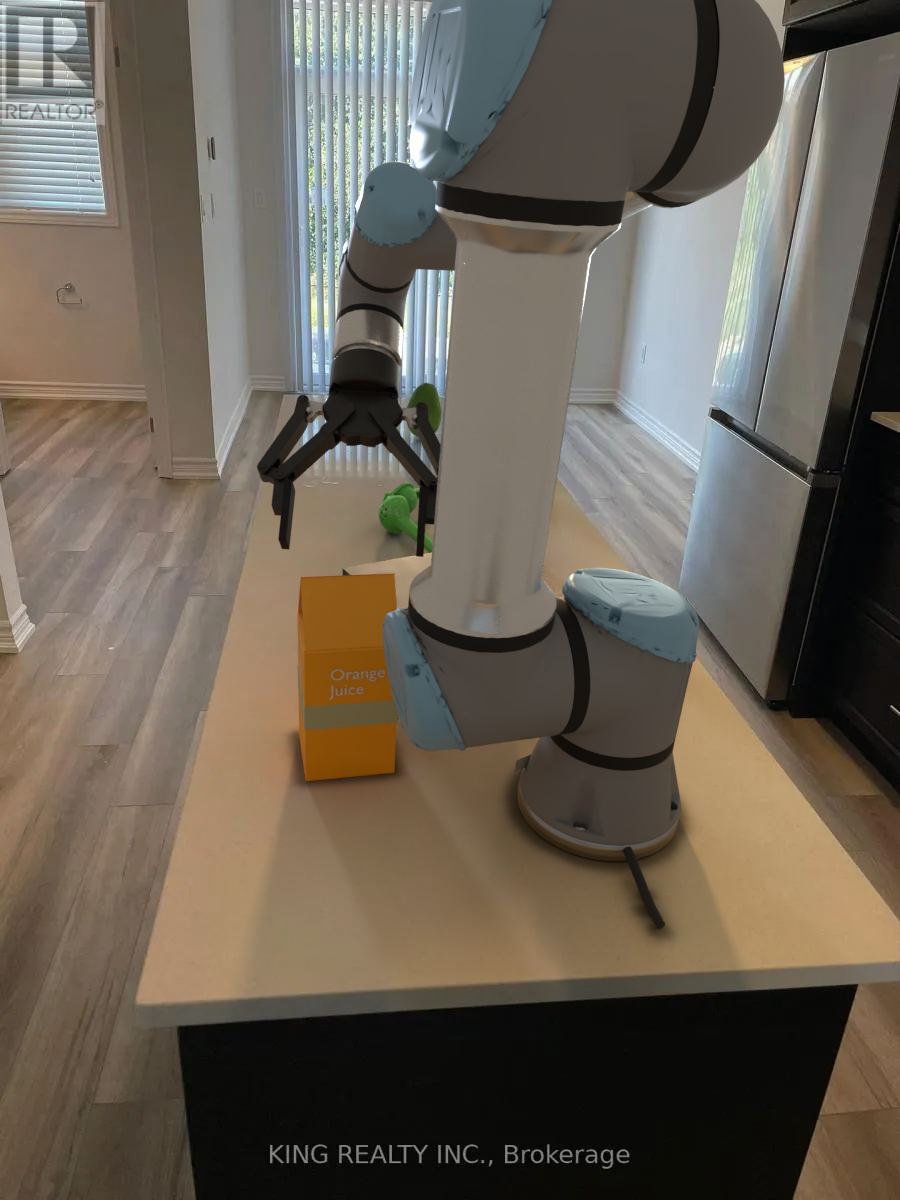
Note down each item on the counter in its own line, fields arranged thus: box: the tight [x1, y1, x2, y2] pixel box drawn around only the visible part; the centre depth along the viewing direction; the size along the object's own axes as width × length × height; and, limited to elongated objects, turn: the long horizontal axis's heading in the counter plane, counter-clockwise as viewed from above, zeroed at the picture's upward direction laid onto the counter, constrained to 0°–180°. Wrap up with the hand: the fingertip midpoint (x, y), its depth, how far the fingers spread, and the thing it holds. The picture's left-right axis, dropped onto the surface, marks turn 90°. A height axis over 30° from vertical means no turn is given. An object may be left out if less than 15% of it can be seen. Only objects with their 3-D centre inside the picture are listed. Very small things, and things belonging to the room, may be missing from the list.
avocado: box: [406, 382, 443, 438], centre depth 188 cm, size 8×8×12 cm
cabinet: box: [342, 552, 432, 610], centre depth 105 cm, size 15×13×10 cm
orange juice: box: [296, 573, 398, 782], centre depth 83 cm, size 8×9×20 cm
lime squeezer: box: [378, 481, 433, 553], centre depth 143 cm, size 34×12×6 cm, turn 1°
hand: (352, 548), depth 86 cm, fingers open, 13 cm apart
